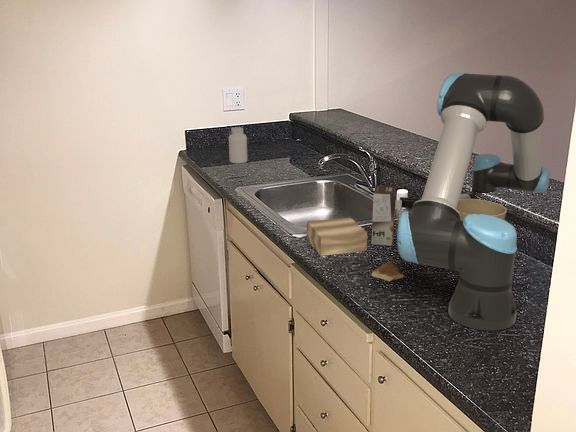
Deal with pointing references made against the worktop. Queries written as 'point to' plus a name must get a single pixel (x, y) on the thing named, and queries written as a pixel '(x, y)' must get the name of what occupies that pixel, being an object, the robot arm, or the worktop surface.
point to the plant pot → (480, 208)
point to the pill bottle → (237, 146)
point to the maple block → (336, 236)
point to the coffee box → (383, 215)
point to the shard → (388, 272)
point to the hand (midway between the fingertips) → (390, 212)
